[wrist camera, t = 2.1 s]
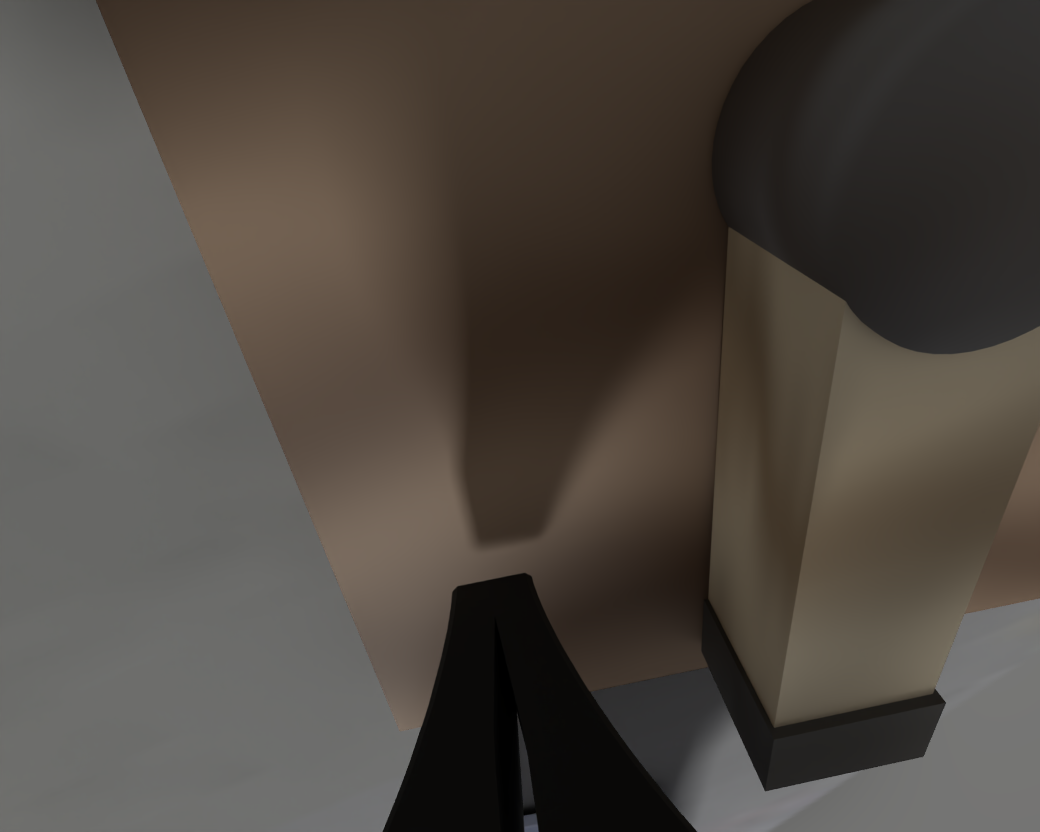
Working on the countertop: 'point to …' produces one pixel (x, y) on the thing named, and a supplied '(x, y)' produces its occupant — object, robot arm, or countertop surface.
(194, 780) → the countertop surface
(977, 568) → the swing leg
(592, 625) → the wooden board
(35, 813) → the countertop surface
